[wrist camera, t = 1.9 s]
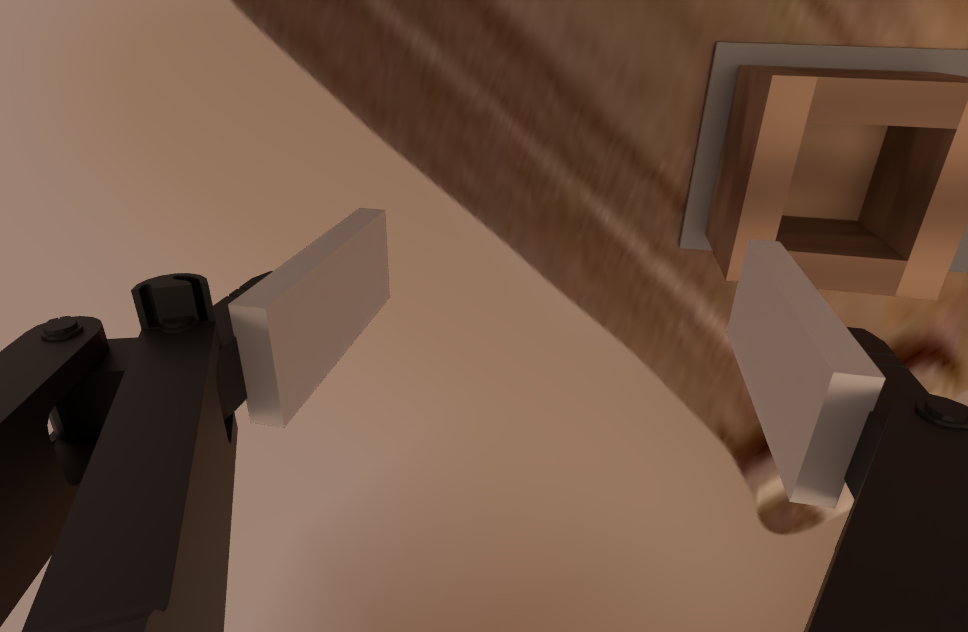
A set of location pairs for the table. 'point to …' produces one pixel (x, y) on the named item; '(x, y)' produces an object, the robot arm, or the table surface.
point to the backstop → (791, 56)
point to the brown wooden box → (846, 175)
